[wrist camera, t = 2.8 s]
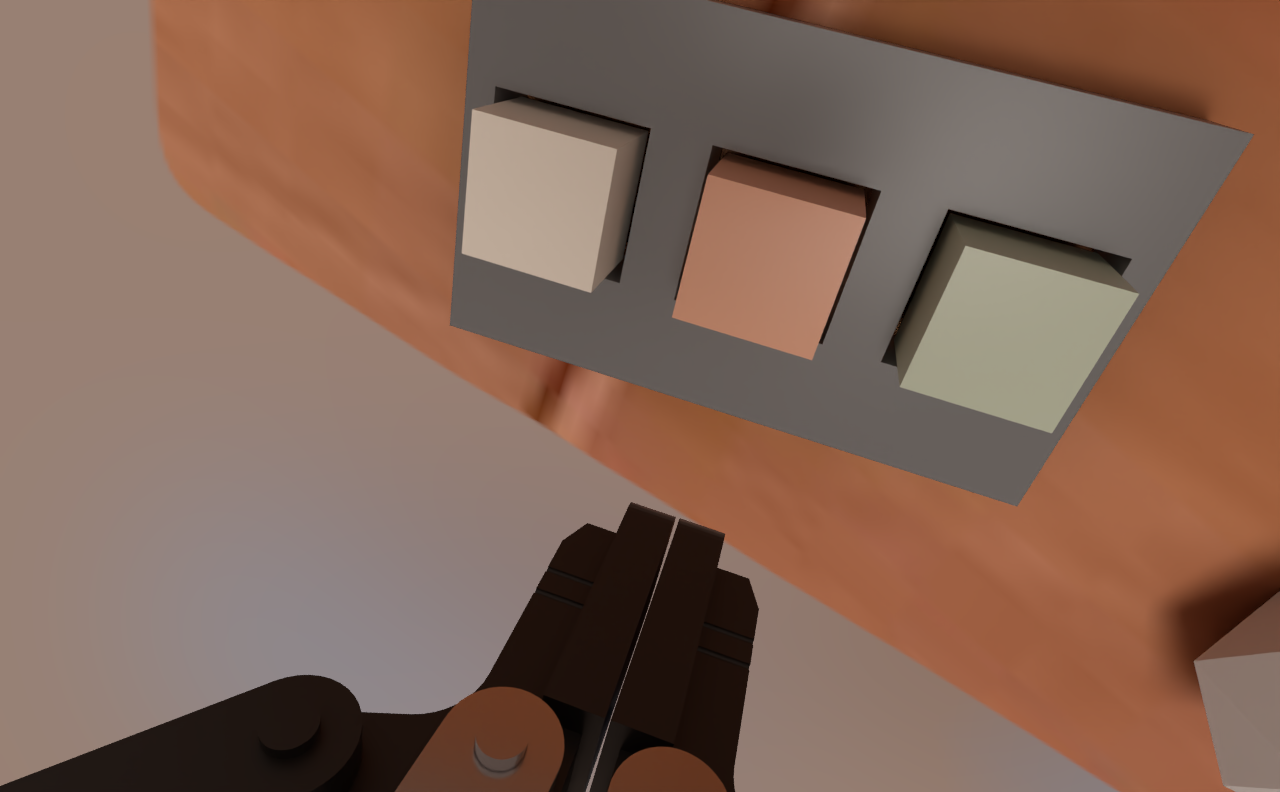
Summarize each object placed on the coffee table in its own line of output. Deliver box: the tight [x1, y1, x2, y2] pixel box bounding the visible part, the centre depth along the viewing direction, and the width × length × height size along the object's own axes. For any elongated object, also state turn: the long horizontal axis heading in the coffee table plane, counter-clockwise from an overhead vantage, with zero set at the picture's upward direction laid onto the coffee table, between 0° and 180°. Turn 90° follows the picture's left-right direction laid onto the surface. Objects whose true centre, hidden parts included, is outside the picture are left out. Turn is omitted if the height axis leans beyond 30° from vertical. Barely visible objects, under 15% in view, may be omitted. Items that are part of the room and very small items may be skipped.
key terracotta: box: [672, 153, 866, 360], centre depth 24 cm, size 5×5×4 cm
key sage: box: [894, 213, 1139, 433], centre depth 24 cm, size 5×5×4 cm
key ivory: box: [462, 97, 648, 293], centre depth 25 cm, size 5×5×4 cm
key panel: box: [450, 0, 1254, 506], centre depth 26 cm, size 14×24×3 cm, turn 78°
